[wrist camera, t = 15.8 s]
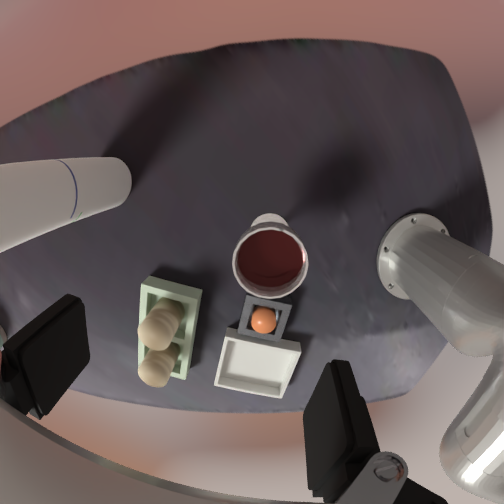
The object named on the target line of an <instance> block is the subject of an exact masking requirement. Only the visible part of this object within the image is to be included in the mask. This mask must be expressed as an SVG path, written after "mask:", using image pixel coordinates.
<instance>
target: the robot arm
mask: <svg viewBox="0 0 504 504" xmlns="http://www.w3.org/2000/svg"><path fill="white" fill-rule="evenodd" d="M411 220H412V221H411ZM384 247H386V248H385V249H384ZM377 271H378V275H379V278H380V280H381V282H382V284H383V285H384V287H385V288H386V289H387V290H388V291H389V292H390V293H391V294H392V295H394V296H396V297H398V298H402V299H411V300H412V301H413V302H414V303H415V304H416V305H417V306H418V308H419V309H420V310H421V311H422V312H423V313H424V314H425V315H426V316H427V318H428V319H429V320H430V321H431V322H432V323H433V324H434V325H435V327H436V328H437V329H438V330H439V331H440V332H441V333H442V335H443V336H444V337H445V338H446V339H447V340H448V341H449V343H450V344H451V345H452V346H453V347H454V348H455V349H456V350H457V351H459V352H460V353H463V354H465V355H468V356H473V357H482V356H489V355H493V359H492V361H491V364H490V366H489V368H488V369H487V371H486V373H485V375H484V377H483V379H482V381H481V382H480V384H479V385H478V387H477V388H476V390H475V391H474V393H473V394H472V395H471V397H470V398H469V400H468V401H467V403H466V404H465V405H464V407H463V408H462V409H461V411H460V412H459V414H458V415H457V416H456V418H455V419H454V420H453V422H452V423H451V424H450V426H449V427H448V429H447V431H446V432H445V434H444V436H443V438H442V441H441V444H440V451H439V457H440V462H441V465H442V467H443V469H444V471H445V473H446V474H447V476H448V477H449V478H450V479H451V480H452V481H453V482H454V483H455V484H456V485H458V486H459V487H461V488H462V489H464V490H466V491H467V492H469V493H471V494H474V495H476V496H479V497H481V498H484V499H487V500H489V501H492V502H495V503H498V504H504V265H503V264H501V263H499V262H497V261H496V260H494V259H492V258H490V257H488V256H487V255H485V254H483V253H481V252H479V251H477V250H475V249H474V248H472V247H470V246H468V245H466V244H464V243H462V242H460V241H458V240H456V239H454V238H452V237H450V235H449V233H448V231H447V229H446V227H445V226H444V224H443V223H442V222H441V221H440V220H438V219H437V218H435V217H433V216H431V215H428V214H425V213H412V214H409V215H406V216H404V217H402V218H400V219H399V220H397V221H396V222H395V223H394V224H393V225H392V226H391V227H390V228H389V229H388V231H387V232H386V233H385V235H384V237H383V239H382V240H381V243H380V246H379V249H378V254H377ZM3 347H4V350H3V351H2V352H1V350H0V504H448V503H447V501H446V500H445V499H444V498H442V497H441V496H438V495H437V494H435V493H433V492H431V491H429V490H428V489H426V488H424V487H422V486H421V485H419V484H417V483H416V482H414V481H412V480H411V479H409V478H407V475H408V467H407V464H406V462H405V461H404V460H403V458H401V457H400V456H399V455H397V454H395V453H392V452H386V451H385V452H380V448H379V445H378V442H377V438H376V435H375V432H374V428H373V425H372V421H371V418H370V415H369V412H368V409H367V406H366V402H365V400H364V398H363V397H362V396H360V393H359V390H358V387H357V384H356V381H355V378H354V375H353V372H352V369H351V366H350V363H349V361H344V360H336V359H334V360H332V362H331V363H329V362H328V363H327V364H326V366H325V368H324V370H323V372H322V374H321V377H320V379H319V381H318V383H317V385H316V387H315V390H314V392H313V394H312V396H311V398H310V400H309V402H308V404H307V406H306V408H305V410H304V414H303V425H304V437H305V449H306V450H305V451H306V464H307V465H306V466H307V480H308V489H309V490H312V491H313V497H323V499H324V500H323V501H324V503H312V502H290V501H289V502H288V501H276V500H266V499H257V498H248V497H241V496H234V495H228V494H222V493H217V492H212V491H207V490H202V489H198V488H194V487H189V486H185V485H182V484H178V483H174V482H171V481H167V480H164V479H160V478H157V477H154V476H150V475H148V474H145V473H142V472H139V471H136V470H133V469H130V468H128V467H125V466H123V465H120V464H118V463H115V462H112V461H110V460H108V459H106V458H103V457H101V456H99V455H97V454H94V453H92V452H90V451H88V450H86V449H84V448H82V447H80V446H78V445H76V444H74V443H72V442H70V441H68V440H66V439H64V438H62V437H60V436H59V435H57V434H55V433H53V432H52V431H50V430H48V429H46V428H45V427H43V426H41V425H40V424H38V423H37V422H35V421H33V420H32V419H30V418H29V417H27V416H26V415H27V414H28V412H29V413H30V414H31V415H33V416H34V417H36V418H38V419H39V420H41V418H42V417H43V416H44V415H47V414H49V412H50V411H51V410H52V408H53V407H54V406H55V404H56V403H57V402H58V401H59V399H60V398H61V397H62V395H63V394H64V393H65V392H66V390H67V389H68V388H69V387H70V385H71V384H72V383H73V381H74V380H75V379H76V378H77V376H78V375H79V374H80V373H81V372H82V370H83V369H84V368H85V367H86V365H87V364H88V363H89V360H90V351H89V344H88V336H87V328H86V318H85V307H84V304H83V303H82V300H81V299H80V298H79V297H76V296H73V295H71V294H66V295H65V296H63V297H62V298H61V299H59V300H58V301H57V302H55V303H54V304H53V305H51V306H50V307H49V308H47V309H46V310H45V311H43V312H42V313H41V314H40V315H38V316H37V317H36V318H34V319H33V320H32V321H31V322H29V323H28V324H27V325H26V326H24V327H23V328H22V329H21V330H19V331H18V332H17V333H16V334H15V335H13V336H12V337H11V338H10V339H9V340H7V341H6V342H5V343H4V344H3Z"/></svg>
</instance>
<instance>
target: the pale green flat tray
mask: <svg viewBox="0 0 504 504" xmlns="http://www.w3.org/2000/svg"><path fill="white" fill-rule="evenodd" d="M201 296H202V289H198V288H194V287H190V286H186V285H182V284H178V283H175V282H171V281H167V280H164V279H160V278H156V277H153V276H149V277H148V278H147V279H146V280H145V281H144V282H143V283H142V284H141V296H140V314H139V326H140V324H141V323H142V322H143V320H144V319H145V318H146V316H147V315H148V314H149V312H150V311H151V309H152V308H153V307H154V305H155V304H156V303H157V302H158V300H159V299H160V298H162V297H166V298H169V299H173V300H177V301H180V302H181V303H182V305H183V307H184V309H185V315H184V318H183V320H182V322H181V324H180V326H179V327H178V329H177V331H176V333H175V335H174V337H173V339H172V341H171V342H174V343H178V345H179V346H180V354H179V356H178V359H177V361H176V363H175V366H174V368H173V370H172V372H171V375H170V376H173V377H176V378H180V379H183V380H186V378H187V375H188V372H189V369H190V364H191V357H192V350H193V344H194V338H195V331H196V325H197V319H198V313H199V308H200V302H201ZM149 349H150V348H148V347H147V346H145V345H144V344H143V343H142V342H141V340H140V338H139V344H138V366H140V364H141V363H142V361H143V359H144V358H145V356H146V354H147V353H148V351H149Z"/></svg>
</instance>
